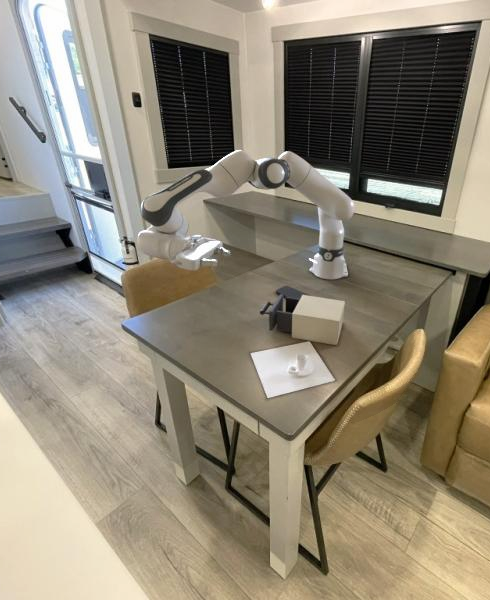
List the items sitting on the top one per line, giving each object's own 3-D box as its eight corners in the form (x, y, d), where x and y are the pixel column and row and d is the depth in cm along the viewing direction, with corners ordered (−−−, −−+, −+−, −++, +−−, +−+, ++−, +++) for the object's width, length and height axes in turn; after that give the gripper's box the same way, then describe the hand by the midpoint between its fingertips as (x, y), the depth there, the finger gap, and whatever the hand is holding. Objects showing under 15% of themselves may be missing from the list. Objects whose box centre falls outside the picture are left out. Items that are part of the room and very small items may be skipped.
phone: (302, 303, 131) (274, 290, 138) (302, 305, 131) (274, 292, 139) (313, 296, 136) (286, 285, 144) (313, 298, 137) (286, 286, 144)
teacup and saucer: (290, 380, 94) (290, 369, 92) (281, 363, 100) (281, 352, 98) (318, 373, 97) (319, 362, 95) (308, 357, 103) (309, 346, 101)
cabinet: (291, 337, 112) (292, 313, 107) (301, 317, 124) (302, 294, 119) (336, 345, 110) (339, 321, 105) (342, 323, 121) (345, 301, 117)
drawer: (257, 328, 114) (256, 309, 110) (269, 310, 124) (268, 292, 121) (310, 337, 111) (311, 318, 107) (317, 318, 122) (319, 300, 118)
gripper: (165, 252, 101) (208, 260, 99) (199, 233, 119) (235, 240, 117) (167, 270, 104) (208, 279, 102) (200, 249, 122) (235, 256, 120)
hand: (223, 258), depth 110 cm, fingers open, 8 cm apart
